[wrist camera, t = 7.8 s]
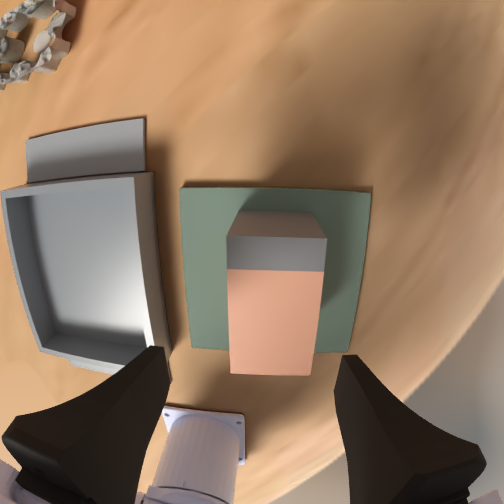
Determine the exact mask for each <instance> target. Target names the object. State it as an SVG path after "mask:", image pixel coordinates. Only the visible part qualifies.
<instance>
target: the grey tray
mask: <svg viewBox="0 0 504 504" xmlns="http://www.w3.org/2000/svg"><path fill="white" fill-rule="evenodd" d="M26 159H27V175H28V183H29V184H24V185H20V186H17V187H13V188H10V189H6V190H3V191H0V194H1V203H2V210H3V217H4V224H5V230H6V235H7V241H8V246H9V251H10V256H11V260H12V264H13V269H14V273H15V277H16V280H17V284H18V288H19V291H20V295H21V298H22V302H23V305H24V308H25V311H26V314H27V317H28V320H29V323H30V326H31V329H32V332H33V335H34V337H35V340H36V343H37V345H38V348H39V350H40V352H43V353H47V354H51V355H54V356H58V357H62V358H66V359H69V362H70V364H71V365H73V366H77V367H81V368H85V369H89V370H94V371H98V372H103V373H108V374H113V375H114V374H115V373H116V372H118V371H119V370H120V369H122V368H123V367H124V366H125V365H127V364H128V363H129V362H130V361H132V360H133V359H134V358H135V357H136V356H138V355H139V354H140V353H141V352H143V351H144V350H145V349H146V348H147V347H149V346H150V345H153V346H161V347H164V350H165V355H166V361H167V366H168V360H169V358H170V356H171V353H172V347H171V341H170V334H169V328H168V321H167V314H166V307H165V299H164V291H163V283H162V274H161V265H160V255H159V244H158V232H157V219H156V203H155V184H154V171H153V172H136V173H121V174H109V175H97V176H87V177H77V178H68V179H59V178H67V177H76V176H86V175H96V174H107V173H120V172H134V171H145V170H146V166H145V119H144V118H141V119H133V120H126V121H119V122H112V123H106V124H99V125H94V126H88V127H83V128H77V129H72V130H68V131H63V132H58V133H54V134H50V135H45V136H41V137H37V138H33V139H29V140H26ZM51 179H59V180H51ZM44 180H51V181H44ZM37 181H44V182H37ZM30 182H36V183H30ZM168 372H169V367H168ZM169 377H170V372H169ZM170 382H171V377H170ZM170 384H171V383H170Z"/></svg>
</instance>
